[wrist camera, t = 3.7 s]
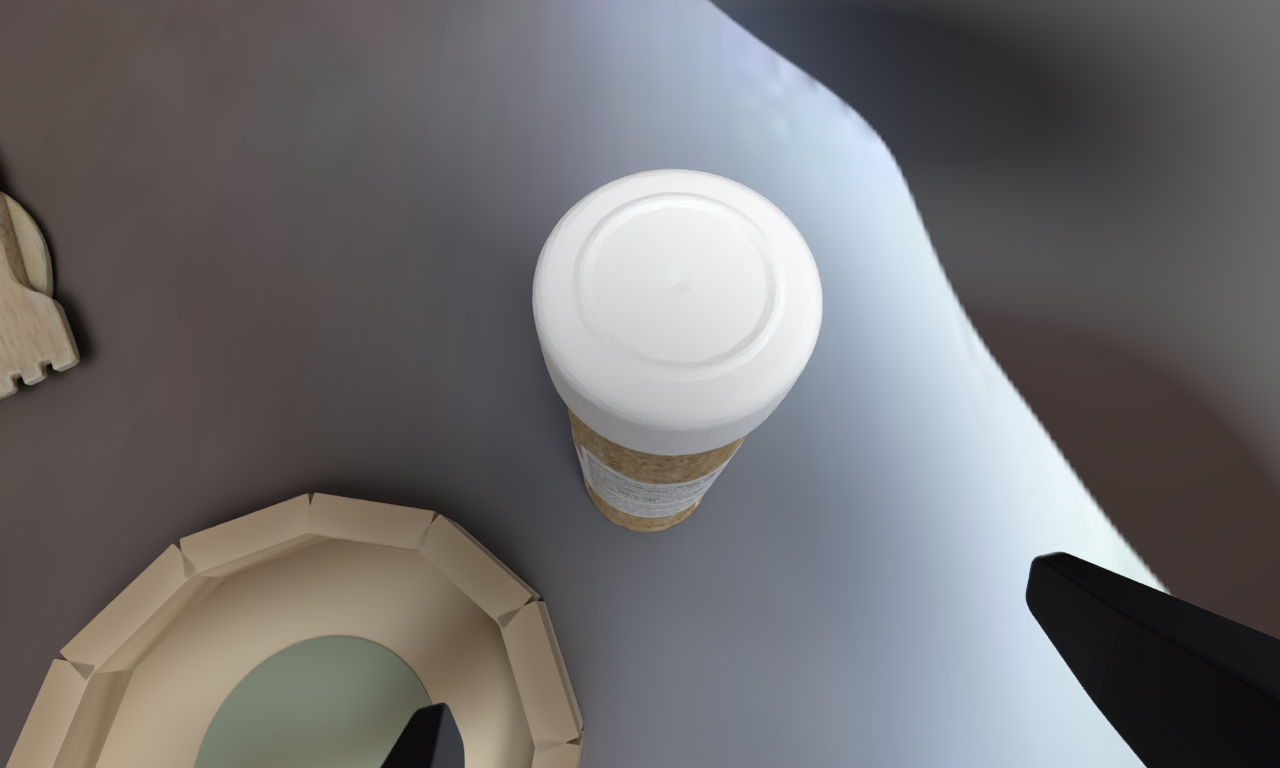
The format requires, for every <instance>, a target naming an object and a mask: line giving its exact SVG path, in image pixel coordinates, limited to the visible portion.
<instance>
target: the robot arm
mask: <svg viewBox="0 0 1280 768" xmlns="http://www.w3.org/2000/svg"><path fill="white" fill-rule="evenodd" d="M1026 602H1027V605H1028V607H1029V610H1030V611H1031V613H1032V615H1033V616H1034V617H1035V619H1036V620H1037V622H1038V623H1039V625H1040V626H1041V628H1042V629H1043V631H1044V632H1045V633H1046V635H1047V636H1048V638H1049V639H1050V641H1051V642H1052V644H1053V645H1054V646H1055V648H1056V649H1057V651H1058V652H1059V654H1060V655H1061V657H1062V658H1063V659H1064V661H1065V662H1066V664H1067V665H1068V667H1069V668H1070V670H1071V671H1072V672H1073V674H1074V675H1075V677H1076V678H1077V680H1078V681H1079V683H1080V684H1081V686H1082V687H1083V688H1084V690H1085V691H1086V693H1087V694H1088V695H1089V697H1090V698H1091V699H1092V701H1093V702H1094V703H1095V705H1096V706H1097V707H1098V709H1099V710H1100V711H1101V712H1102V714H1103V715H1104V716H1105V717H1106V719H1107V720H1108V721H1109V722H1110V724H1111V725H1112V726H1113V727H1114V729H1115V730H1116V731H1117V732H1118V733H1119V735H1120V736H1121V737H1122V738H1123V739H1124V741H1125V742H1126V743H1127V744H1128V745H1129V747H1130V748H1131V749H1132V750H1133V752H1134V753H1135V754H1136V755H1137V756H1138V758H1139V759H1140V760H1141V761H1142V762H1143V764H1144V765H1145V766H1146V767H1147V768H1280V640H1279V639H1277V638H1275V637H1272V636H1270V635H1267V634H1265V633H1262V632H1260V631H1257V630H1255V629H1252V628H1250V627H1247V626H1245V625H1243V624H1240V623H1238V622H1235V621H1233V620H1230V619H1228V618H1225V617H1223V616H1220V615H1218V614H1215V613H1213V612H1211V611H1208V610H1205V609H1203V608H1201V607H1198V606H1195V605H1193V604H1191V603H1188V602H1186V601H1183V600H1181V599H1179V598H1176V597H1174V596H1171V595H1169V594H1166V593H1164V592H1161V591H1159V590H1156V589H1154V588H1152V587H1149V586H1147V585H1144V584H1142V583H1139V582H1137V581H1134V580H1132V579H1129V578H1127V577H1124V576H1122V575H1120V574H1117V573H1115V572H1112V571H1110V570H1107V569H1105V568H1102V567H1100V566H1097V565H1095V564H1092V563H1090V562H1088V561H1085V560H1083V559H1080V558H1078V557H1075V556H1073V555H1070V554H1068V553H1065V552H1053V553H1049V554H1045V555H1041V556H1037V557H1035V558H1034V560H1033V561H1032V563H1031V568H1030V573H1029V579H1028V584H1027V589H1026ZM380 768H465V753H464V744H463V740H462V737H461V734H460V732H459V729H458V727H457V724H456V722H455V719H454V717H453V715H452V712H451V710H450V707H449V706H448V705H447V704H446V703H444V702H443V703H442V702H441V703H437V704H433V705H429V706H425V707H421V708H419V709H417V710H416V711H415V712H414V713H413V715H412V716H411V718H410V719H409V721H408V723H407V724H406V726H405V728H404V729H403V731H402V732H401V734H400V736H399V737H398V739H397V741H396V742H395V744H394V746H393V747H392V749H391V751H390V752H389V754H388V755H387V757H386V759H385V760H384V762H383V764H382V765H381V767H380Z"/></svg>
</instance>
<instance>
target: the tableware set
mask: <svg viewBox="0 0 1280 768" xmlns="http://www.w3.org/2000/svg"><path fill="white" fill-rule="evenodd" d="M52 296H53V274H52V266H51V258H50V255H49V251H48V247H47V244H46V242H45V239H44V237H43V234H42V232H41V231H40V229H39V227H38V226H37V224H36V222H35V221H34V220H33V218H32V217H31V216H30V215H29V214H28V213H27V212H26V211H25V210H24V209H23V207H22V206H21V205H20V204H18V203H17V202H16V201H15V200H13V199H12V198H11V197H10V196H8V195H6V194H5V193H3V192H1V191H0V400H1V399H3V398H5V397H8V396H10V395H12V394H14V393H16V392H17V391H18V389H19V388H18V383H17V379H19V378H20V377H22V378H23V380H24V382H25V384H28V385H33V384H35V383H38V382H40V381H42V380H43V379H45V378H46V377H47V376H48V375H47V371H46V368H47V365H49V364H50V363H51V364H52V366H53V369H54V370H57V371H60V372H62V371H64V370H66V369H69V368H71V367H73V366H75V365H76V364H77V363H79V352H78V349H77V346H76V343H75V339H74V337H73V334H72V331H71V328H70V325H69V323H68V320H67V317H66V314H65V312H64V309H63V307H62V306H61V305H60V304H59V303H58V302H57V301H56V300H54V299H52Z"/></svg>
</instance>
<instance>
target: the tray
mask: <svg viewBox="0 0 1280 768" xmlns="http://www.w3.org/2000/svg"><path fill="white" fill-rule="evenodd" d="M540 597H541V596H540V595H539V594H538V593H537V592H536V591H534V590H533V589H532V588H531V587H530V586H529V585H528V584H526V583H525V582H524V581H523V580H522V579H521V578H520V577H518V576H517V575H516V574H515V573H514V572H513V571H512V570H510V569H509V568H508V567H507V566H506V565H505V564H504V563H502V562H501V561H500V560H499V559H498V558H497V557H496V556H494V555H493V554H492V553H491V552H490V551H489V550H488V549H487V548H485V547H484V546H483V545H482V544H481V543H480V542H479V541H477V540H476V539H475V538H474V537H473V536H472V535H471V534H469V533H468V532H467V531H466V530H465V529H464V528H463V527H461V526H460V525H459V524H458V523H456V522H454V521H452V520H450V519H449V518H447V517H445V516H443V515H441V514H439V513H437V512H435V511H430V510H424V509H417V508H411V507H404V506H398V505H392V504H385V503H379V502H372V501H366V500H359V499H353V498H347V497H340V496H334V495H327V494H321V493H314V496H313V495H311V494H308V493H307V494H304V495H301V496H298V497H295V498H293V499H290V500H287V501H284V502H282V503H279V504H276V505H273V506H270V507H268V508H265V509H262V510H259V511H256V512H254V513H251V514H248V515H245V516H242V517H240V518H237V519H234V520H231V521H228V522H226V523H223V524H220V525H217V526H214V527H212V528H209V529H206V530H203V531H201V532H198V533H195V534H192V535H189V536H187V537H184V538H181V539H180V544H174V543H173V544H172V545H171V546H170V547H169V548H167V549H166V550H165V551H164V552H163V553H162V554H161V555H160V556H159V557H158V558H157V559H156V560H155V561H154V562H153V563H152V564H151V565H150V566H149V567H148V568H146V569H145V570H144V571H143V572H142V573H141V574H140V575H139V576H138V577H137V578H136V579H135V580H134V581H133V582H132V583H131V584H130V585H129V586H128V587H127V588H126V589H124V590H123V591H122V592H121V593H120V594H119V595H118V596H117V597H116V598H115V599H114V600H113V601H112V602H111V603H110V604H109V605H108V606H107V607H106V608H105V609H103V610H102V611H101V612H100V613H99V614H98V615H97V616H96V617H95V618H94V619H93V620H92V621H91V622H90V623H89V624H88V625H87V626H86V627H85V628H84V629H82V630H81V631H80V632H79V633H78V634H77V635H76V636H75V637H74V638H73V639H72V640H71V641H70V642H69V643H68V644H67V645H66V646H65V647H64V648H63V649H61V650H60V652H61V654H62V655H63V656H64V657H65V658H57V659H54V660H53V662H52V665H51V667H50V669H49V671H48V674H47V676H46V678H45V680H44V683H43V685H42V687H41V689H40V692H39V694H38V696H37V698H36V701H35V703H34V705H33V707H32V710H31V712H30V714H29V716H28V719H27V721H26V723H25V725H24V728H23V730H22V732H21V734H20V736H19V739H18V741H17V743H16V745H15V748H14V750H13V752H12V754H11V757H10V759H9V761H8V763H7V766H6V768H380V767H381V765H382V764H383V762H384V760H385V759H386V757H387V755H388V754H389V752H390V751H391V749H392V747H393V746H394V744H395V742H396V741H397V739H398V737H399V736H400V734H401V732H402V731H403V729H404V728H405V726H406V724H407V723H408V721H409V719H410V718H411V716H412V715H413V713H414V712H415V711H416V710H417V709H419V708H421V707H425V706H429V705H433V704H437V703H441V702H442V703H443V702H444V703H446V704H447V705H448V706H449V707H450V710H451V712H452V715H453V717H454V719H455V722H456V724H457V727H458V729H459V732H460V734H461V737H462V740H463V744H464V753H465V768H578V767H579V761H580V755H581V748H582V742H583V736H584V731H583V730H581V729H582V726H583V723H584V722H583V719H582V716H581V713H580V710H579V707H578V703H577V700H576V697H575V694H574V691H573V688H572V685H571V682H570V679H569V675H568V672H567V669H566V666H565V663H564V660H563V657H562V654H561V651H560V647H559V644H558V641H557V638H556V635H555V632H554V629H553V626H552V623H551V620H550V616H549V613H548V610H547V607H546V604H545V602H542V601H538V600H539V599H540Z"/></svg>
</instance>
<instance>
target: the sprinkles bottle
mask: <svg viewBox="0 0 1280 768" xmlns="http://www.w3.org/2000/svg"><path fill="white" fill-rule="evenodd" d="M532 306H533V315H534V320H535V326H536V330H537V334H538V338H539V342H540V346H541V349H542V353H543V356H544V360H545V363H546V366H547V369H548V372H549V374H550V376H551V379H552V381H553V384H554V386H555V388H556V390H557V391H558V393H559V395H560V396H561V398H562V399H563V401H564V402H565V403H566V404H567V408H568V413H569V417H570V420H571V424H572V435H573V440H574V443H575V447H576V450H577V454H578V457H579V460H580V464H581V467H582V470H583V479H584V483H585V485H586V488H587V491H588V494H589V496H590V498H591V499H592V501H593V503H594V504H595V506H596V507H597V508H598V509H599V510H600V511H601V512H602V513H603V514H604V515H605V516H606V517H607V518H608V519H609V520H610V521H612V522H613V523H614V524H617V525H620V526H623V527H625V528H627V529H630V530H635V531H641V532H650V531H662V530H665V529H667V528H669V527H671V526H674V525H676V524H678V523H680V522H682V521H683V520H684V519H686V518H687V517H688V516H690V515H691V514H692V513H693V511H694V510H695V509H696V508H697V507H698V505H699V504H700V502H701V501H702V499H703V497H704V494H705V492H706V491H707V490H708V489H709V487H710V486H711V485H712V484H713V482H714V481H715V480H716V478H717V477H718V476H719V474H720V473H721V472H722V471H723V469H724V468H725V467H726V465H727V464H728V462H729V461H730V460H731V458H732V457H733V456H734V454H735V453H736V451H737V450H738V449H739V447H740V446H741V444H742V443H743V441H744V439H745V437H746V435H747V434H748V433H749V432H751V431H752V430H754V429H755V428H757V427H758V426H759V425H760V424H761V423H762V422H763V421H765V420H766V419H767V418H768V417H769V416H770V414H771V413H772V412H773V411H774V410H775V409H776V408H777V406H778V405H779V404H780V403H781V401H782V400H783V399H784V398H785V396H786V395H787V394H788V392H789V391H790V389H791V388H792V386H793V385H794V384H795V382H796V381H797V379H798V377H799V376H800V374H801V373H802V371H803V370H804V368H805V366H806V364H807V362H808V360H809V358H810V356H811V354H812V352H813V350H814V347H815V345H816V342H817V339H818V335H819V331H820V326H821V319H822V288H821V283H820V277H819V273H818V269H817V265H816V263H815V261H814V258H813V256H812V254H811V251H810V249H809V247H808V245H807V244H806V242H805V240H804V238H803V237H802V235H801V233H800V232H799V231H798V230H797V228H796V227H795V226H794V224H793V223H792V222H791V220H790V219H789V218H788V217H787V216H786V215H785V214H784V213H783V212H781V211H780V210H779V209H778V208H777V207H776V206H775V205H774V204H772V203H771V202H770V201H769V200H767V199H766V198H765V197H763V196H762V195H760V194H759V193H757V192H755V191H754V190H752V189H750V188H748V187H747V186H745V185H742V184H740V183H738V182H736V181H733V180H731V179H728V178H725V177H722V176H719V175H715V174H711V173H707V172H703V171H696V170H688V169H657V170H649V171H643V172H639V173H635V174H632V175H628V176H625V177H622V178H618V179H616V180H614V181H611V182H609V183H607V184H605V185H603V186H601V187H599V188H597V189H596V190H594V191H592V192H591V193H589V194H588V195H586V196H585V197H584V198H582V199H581V200H580V201H578V202H577V203H576V204H575V205H574V206H573V207H571V208H570V209H569V211H568V212H567V213H566V214H565V215H564V216H563V217H562V218H561V219H560V221H559V222H558V223H557V224H556V226H555V227H554V228H553V230H552V232H551V234H550V235H549V237H548V239H547V241H546V242H545V244H544V246H543V248H542V251H541V253H540V255H539V258H538V262H537V265H536V270H535V275H534V280H533V294H532Z"/></svg>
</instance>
